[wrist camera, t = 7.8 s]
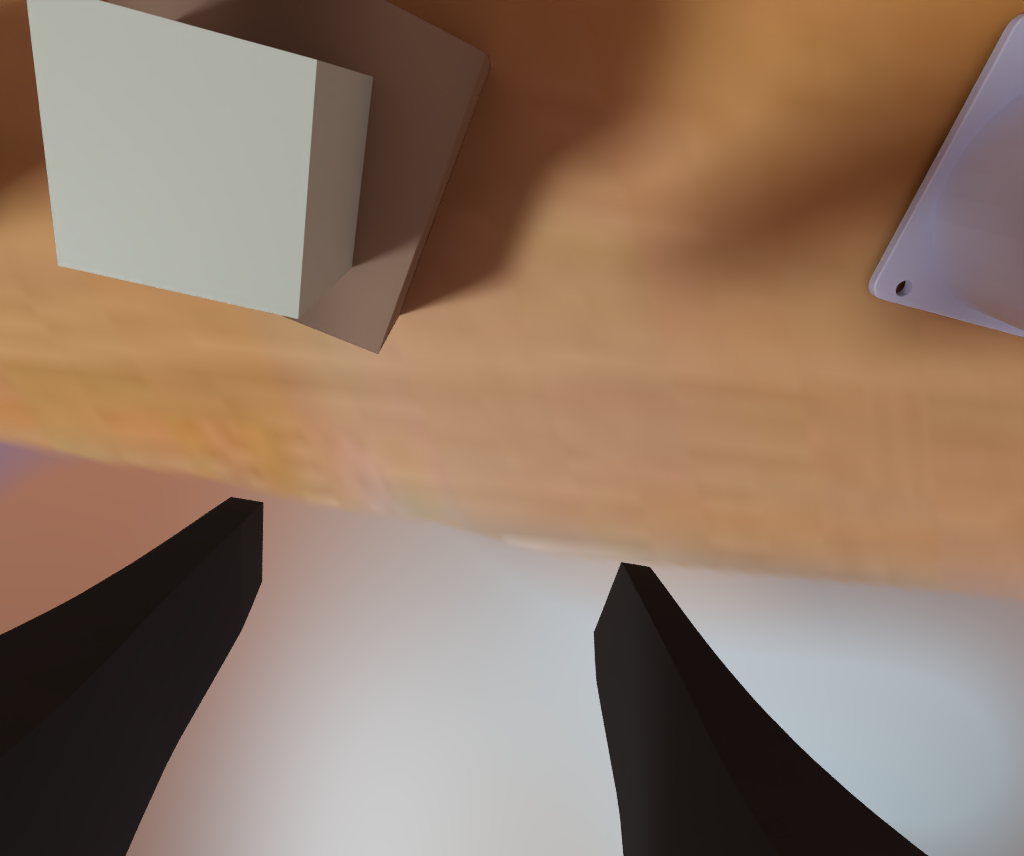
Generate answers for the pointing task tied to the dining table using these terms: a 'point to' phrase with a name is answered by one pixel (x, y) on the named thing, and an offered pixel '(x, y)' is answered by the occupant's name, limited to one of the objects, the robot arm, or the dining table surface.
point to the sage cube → (197, 156)
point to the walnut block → (370, 131)
